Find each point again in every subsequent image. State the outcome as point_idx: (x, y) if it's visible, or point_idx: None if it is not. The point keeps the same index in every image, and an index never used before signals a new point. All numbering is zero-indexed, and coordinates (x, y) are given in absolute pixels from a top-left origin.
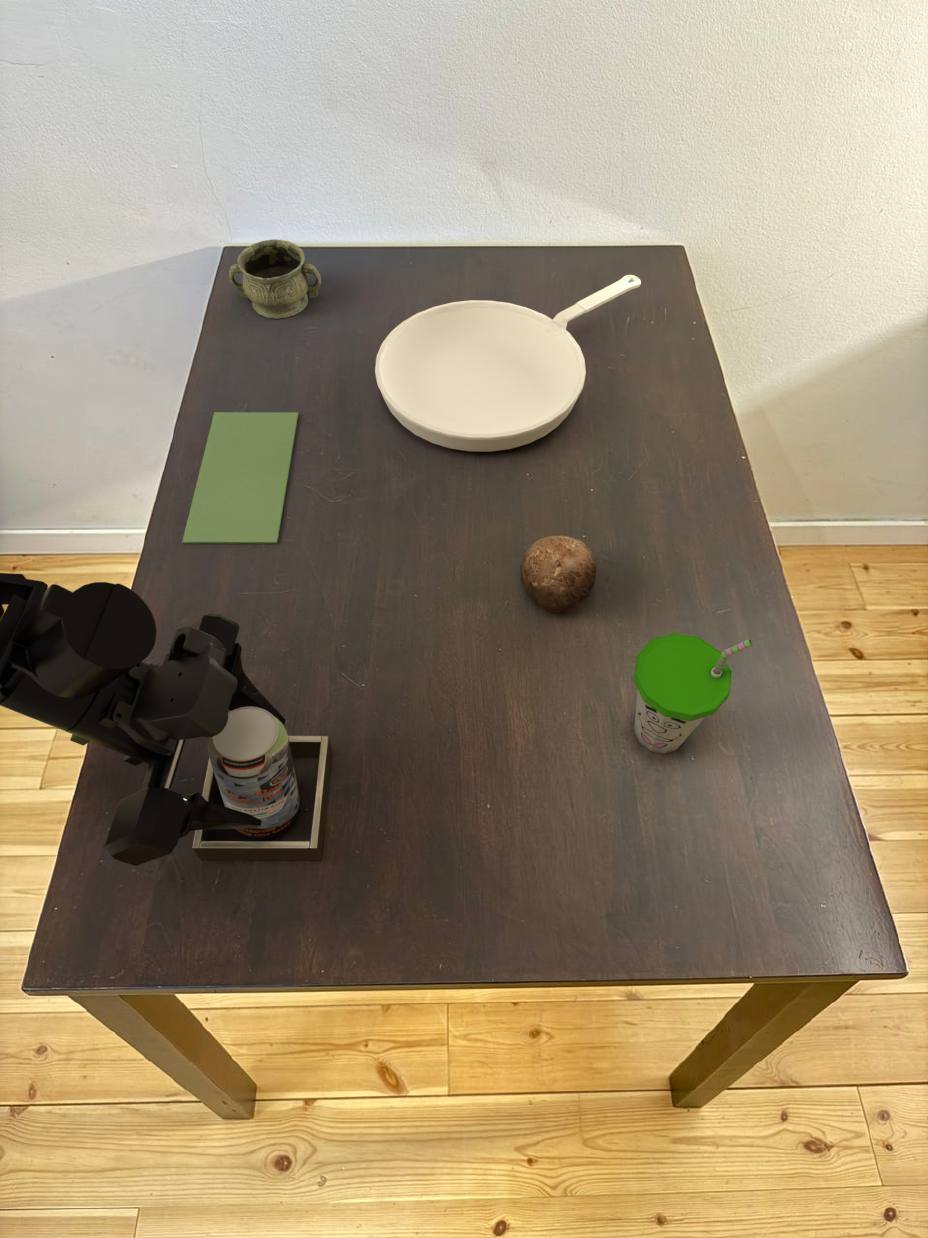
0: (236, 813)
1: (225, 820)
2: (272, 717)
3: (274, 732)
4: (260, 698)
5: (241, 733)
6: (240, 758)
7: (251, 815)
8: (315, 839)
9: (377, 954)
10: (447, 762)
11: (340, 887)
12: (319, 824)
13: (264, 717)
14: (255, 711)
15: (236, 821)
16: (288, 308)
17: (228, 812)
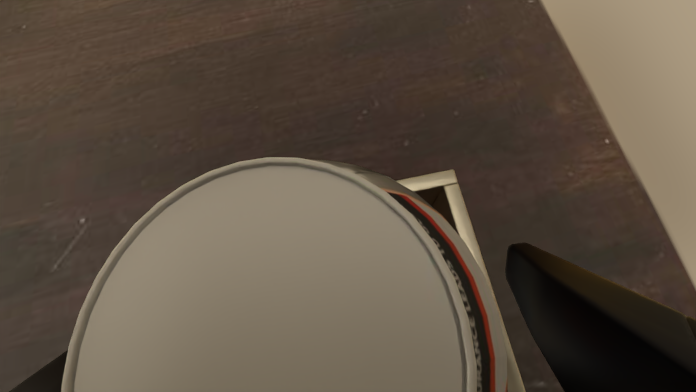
0: (598, 297)
1: (689, 320)
2: (137, 236)
3: (229, 185)
4: (42, 382)
5: (258, 381)
6: (456, 305)
7: (535, 263)
8: (436, 176)
9: (550, 75)
10: (230, 54)
11: (472, 152)
12: (402, 179)
13: (137, 278)
14: (96, 351)
15: (622, 288)
16: None
17: (644, 321)
